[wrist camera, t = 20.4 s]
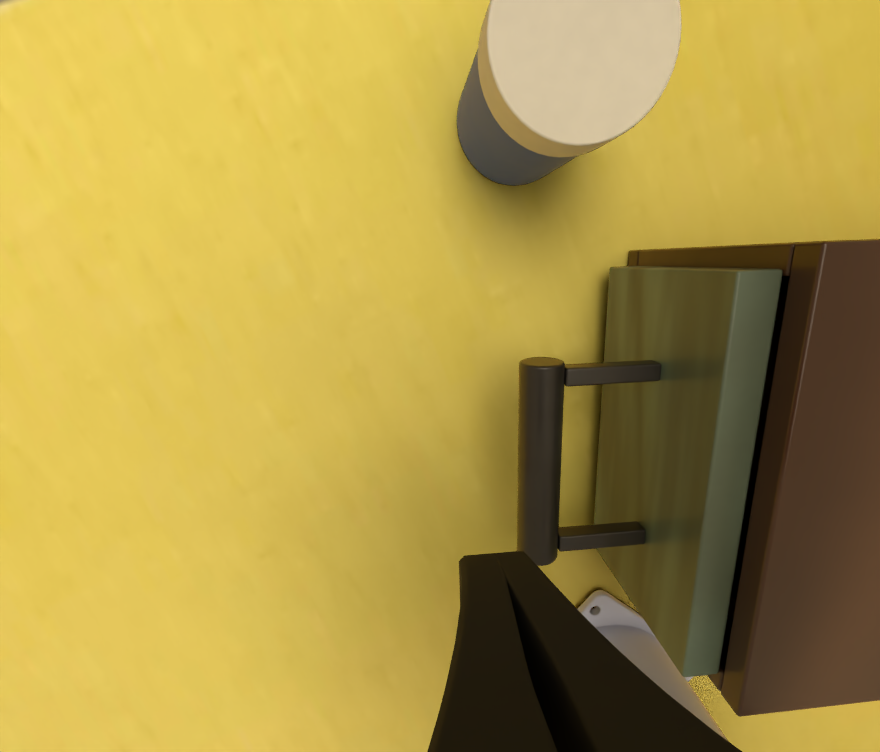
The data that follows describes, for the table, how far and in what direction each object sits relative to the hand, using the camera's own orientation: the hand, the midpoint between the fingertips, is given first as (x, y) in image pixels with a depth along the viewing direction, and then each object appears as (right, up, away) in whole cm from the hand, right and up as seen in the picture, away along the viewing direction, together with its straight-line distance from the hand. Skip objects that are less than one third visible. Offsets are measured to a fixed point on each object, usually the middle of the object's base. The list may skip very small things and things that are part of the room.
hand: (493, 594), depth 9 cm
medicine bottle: (+2, +14, +7) cm, 16 cm away
